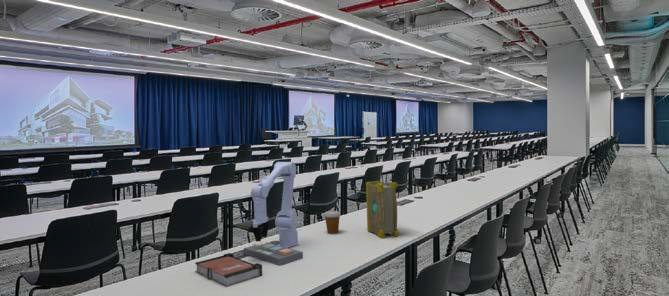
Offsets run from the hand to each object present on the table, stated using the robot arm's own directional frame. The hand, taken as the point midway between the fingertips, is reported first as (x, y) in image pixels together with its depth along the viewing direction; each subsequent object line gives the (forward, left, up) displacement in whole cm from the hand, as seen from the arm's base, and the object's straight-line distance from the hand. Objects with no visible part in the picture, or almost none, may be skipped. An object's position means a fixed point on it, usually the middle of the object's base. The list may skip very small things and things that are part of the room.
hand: (261, 239), depth 198 cm
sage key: (-5, -1, -7) cm, 8 cm away
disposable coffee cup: (-56, -7, -9) cm, 57 cm away
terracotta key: (-5, +12, -7) cm, 14 cm away
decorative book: (-71, +18, -9) cm, 74 cm away
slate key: (-5, +5, -7) cm, 10 cm away
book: (+23, +7, -10) cm, 26 cm away
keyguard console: (-5, +2, -9) cm, 10 cm away
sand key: (-5, -8, -7) cm, 11 cm away
